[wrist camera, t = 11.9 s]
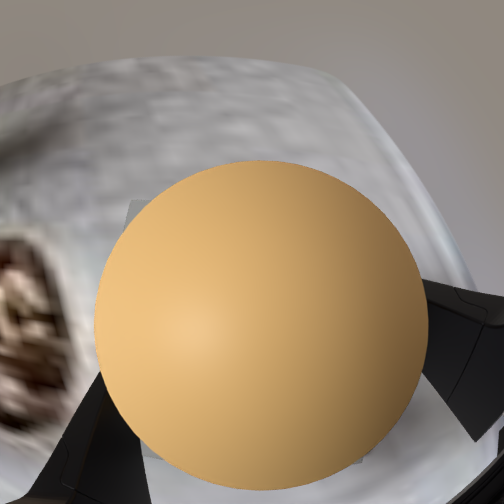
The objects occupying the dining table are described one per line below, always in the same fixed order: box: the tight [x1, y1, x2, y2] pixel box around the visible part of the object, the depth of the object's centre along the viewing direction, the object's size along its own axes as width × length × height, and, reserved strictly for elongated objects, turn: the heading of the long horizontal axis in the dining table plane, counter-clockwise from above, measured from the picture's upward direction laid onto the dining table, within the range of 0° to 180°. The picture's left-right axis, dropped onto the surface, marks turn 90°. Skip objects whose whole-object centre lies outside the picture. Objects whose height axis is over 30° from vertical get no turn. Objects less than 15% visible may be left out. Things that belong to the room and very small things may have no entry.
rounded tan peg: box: [94, 161, 428, 490], centre depth 10 cm, size 5×5×13 cm
